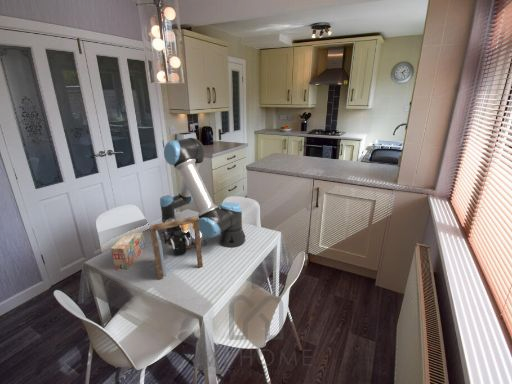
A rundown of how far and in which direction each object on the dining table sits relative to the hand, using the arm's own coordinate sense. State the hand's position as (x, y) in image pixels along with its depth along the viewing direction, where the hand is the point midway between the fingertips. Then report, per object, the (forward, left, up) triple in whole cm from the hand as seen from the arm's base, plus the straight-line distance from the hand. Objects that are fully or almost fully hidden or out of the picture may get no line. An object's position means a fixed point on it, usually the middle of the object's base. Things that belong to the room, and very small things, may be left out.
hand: (181, 244), depth 139 cm
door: (+12, +1, -7) cm, 14 cm away
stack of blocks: (+20, -19, -8) cm, 28 cm away
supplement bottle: (-1, -5, -7) cm, 9 cm away
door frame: (+6, +11, -8) cm, 15 cm away
